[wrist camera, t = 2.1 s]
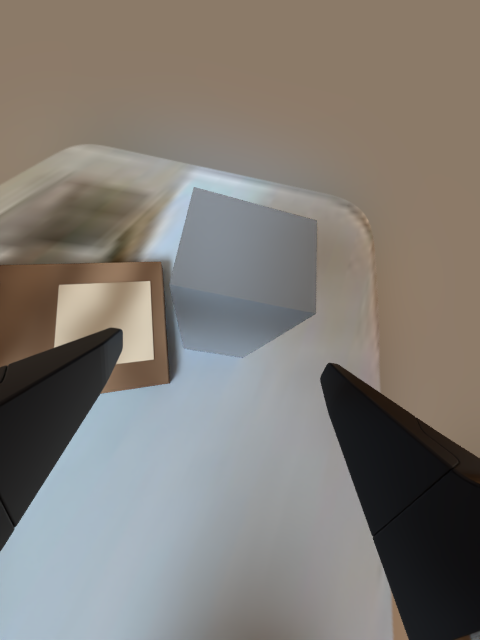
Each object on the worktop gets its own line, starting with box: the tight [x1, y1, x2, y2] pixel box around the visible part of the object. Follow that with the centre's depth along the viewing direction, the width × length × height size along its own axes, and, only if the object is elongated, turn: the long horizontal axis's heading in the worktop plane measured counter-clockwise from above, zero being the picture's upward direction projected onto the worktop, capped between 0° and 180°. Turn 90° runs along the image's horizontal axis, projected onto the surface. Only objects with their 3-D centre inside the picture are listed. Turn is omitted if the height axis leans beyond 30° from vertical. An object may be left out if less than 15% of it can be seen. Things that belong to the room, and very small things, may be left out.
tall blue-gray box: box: [169, 187, 317, 358], centre depth 15 cm, size 4×6×13 cm
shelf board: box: [0, 262, 170, 394], centre depth 14 cm, size 16×11×8 cm
